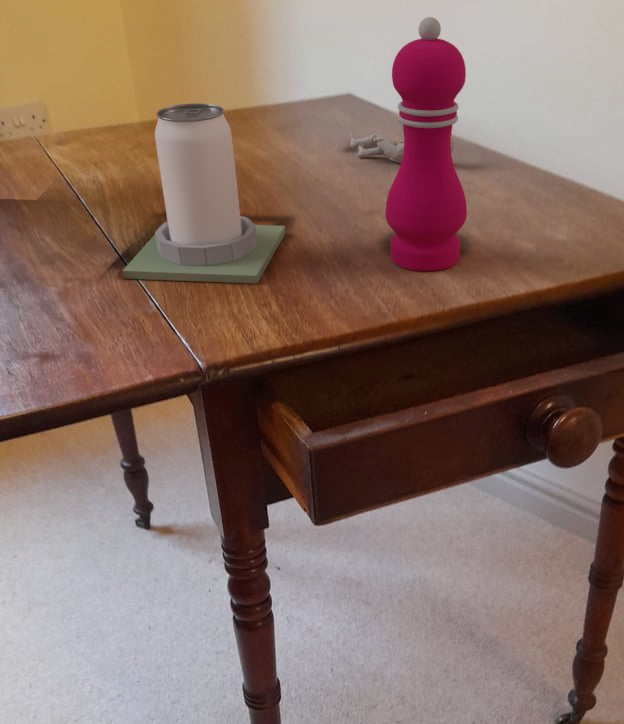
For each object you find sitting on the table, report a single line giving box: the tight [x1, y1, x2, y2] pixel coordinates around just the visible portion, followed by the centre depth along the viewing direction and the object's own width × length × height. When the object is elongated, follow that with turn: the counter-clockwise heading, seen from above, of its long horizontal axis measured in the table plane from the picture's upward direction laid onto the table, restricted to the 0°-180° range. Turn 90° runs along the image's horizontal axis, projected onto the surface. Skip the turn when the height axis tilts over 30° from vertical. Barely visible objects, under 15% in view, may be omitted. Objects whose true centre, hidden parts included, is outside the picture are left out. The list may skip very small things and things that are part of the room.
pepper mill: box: [384, 16, 468, 272], centre depth 74 cm, size 7×7×20 cm
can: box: [154, 103, 242, 245], centre depth 77 cm, size 6×6×12 cm
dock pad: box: [122, 215, 286, 285], centre depth 80 cm, size 12×12×2 cm
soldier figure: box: [349, 112, 455, 164], centre depth 103 cm, size 8×5×12 cm
